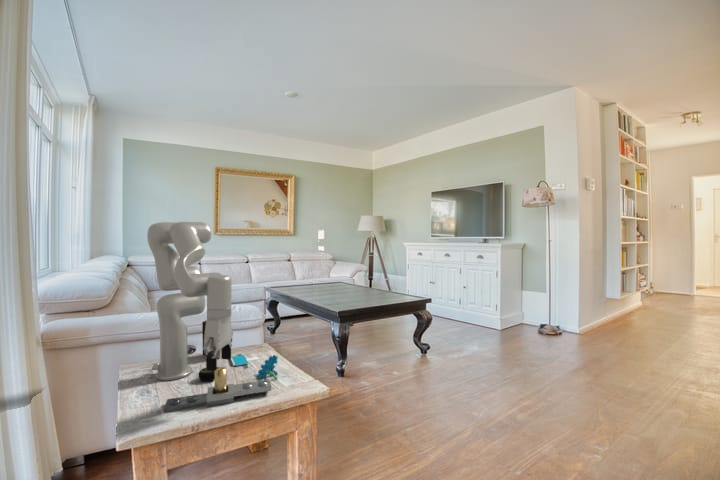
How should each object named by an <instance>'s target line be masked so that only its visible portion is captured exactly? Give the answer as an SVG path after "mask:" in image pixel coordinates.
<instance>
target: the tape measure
mask: <svg viewBox="0 0 720 480" xmlns="http://www.w3.org/2000/svg"><path fill="white" fill-rule="evenodd" d="M217 368H219V366H217ZM198 379H199V381H201V382H208V381H215V371H211V370H206V367H204V368H202V369H200V370H199V372H198Z"/></svg>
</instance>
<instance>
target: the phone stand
mask: <svg viewBox="0 0 720 480" xmlns="http://www.w3.org/2000/svg"><path fill="white" fill-rule="evenodd" d="M239 354H240V355H239V356H238V355H236V356H235V355H234V356H231V359H229V361H230V363H231V366H232V367H234V366H236V367H238V366H239V367H243V368H244V369H249V366H248V364H249V362H253V361H258V360H260V359H259V357H258V356H254V357H248V358H246V356H245V355H244V354H243V355H242V353H239Z"/></svg>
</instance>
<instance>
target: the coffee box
mask: <svg viewBox="0 0 720 480" xmlns="http://www.w3.org/2000/svg"><path fill="white" fill-rule="evenodd" d="M206 321H207V320H204V321H202V322H201V323H202V327H201V328H202V333H201V334H202V358H204V357H205V355H204V350H203V348H204V336H205V326H206ZM211 348H216V347H211ZM211 352H212V354H213V352H214V351H211ZM215 358H219V359H218V360H221V359H222V348H221V349H220V350H218V351H217V354H216V357H215Z"/></svg>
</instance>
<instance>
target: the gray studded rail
mask: <svg viewBox="0 0 720 480" xmlns="http://www.w3.org/2000/svg"><path fill="white" fill-rule="evenodd" d="M270 380H271V379H263V380H262V379H261V380H257V381H250V382H244V383H235V384H234V383H230V384H227V392H225V393H219V394H215V385H214V386H210V387H209V386H208V387H207V393H199V394H192V395H187V396H186V395H185V396H180V397H179V396H178V397H173V398H167V399H166V402H165V405H164V407H163V413H169V412H176V411H181V410H182V411H183V410H187V409H189V410H190V409H194V408H199V407H207V408H208V407H214V406H215V407H216V406H220V405H226V404H232V403H233V404H234V403H235V402H234V400H235V399H234V398H235V397H238V396H239V397H240V396H242V397H243V398H249V397H252V396H253V394H258V395H260V396H261V395H266V394H268V392H270V391H272V383H271V381H270Z"/></svg>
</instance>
